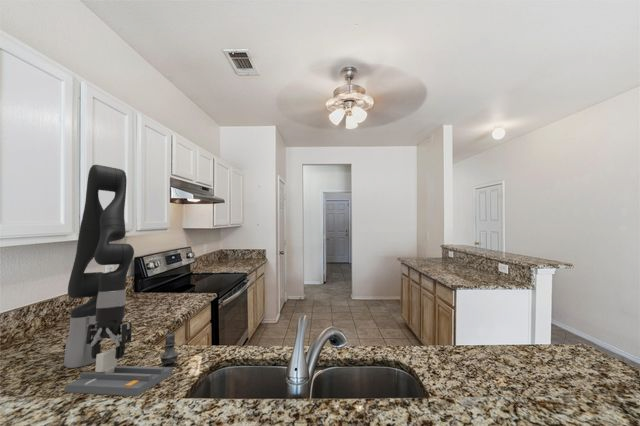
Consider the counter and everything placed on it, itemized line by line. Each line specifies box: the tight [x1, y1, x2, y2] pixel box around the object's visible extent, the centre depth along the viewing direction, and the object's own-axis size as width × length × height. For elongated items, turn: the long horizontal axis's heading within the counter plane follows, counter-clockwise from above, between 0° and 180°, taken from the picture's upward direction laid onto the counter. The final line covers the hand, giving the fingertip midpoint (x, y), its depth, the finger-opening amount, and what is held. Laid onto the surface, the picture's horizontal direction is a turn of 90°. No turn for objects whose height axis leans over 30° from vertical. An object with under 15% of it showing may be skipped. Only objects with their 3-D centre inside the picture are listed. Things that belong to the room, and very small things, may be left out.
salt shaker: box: [159, 329, 179, 368], centre depth 96 cm, size 6×6×12 cm
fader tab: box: [94, 348, 118, 373], centre depth 86 cm, size 3×5×7 cm, turn 171°
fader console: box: [64, 365, 174, 397], centre depth 84 cm, size 24×14×4 cm, turn 81°
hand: (107, 358), depth 86 cm, fingers open, 8 cm apart
